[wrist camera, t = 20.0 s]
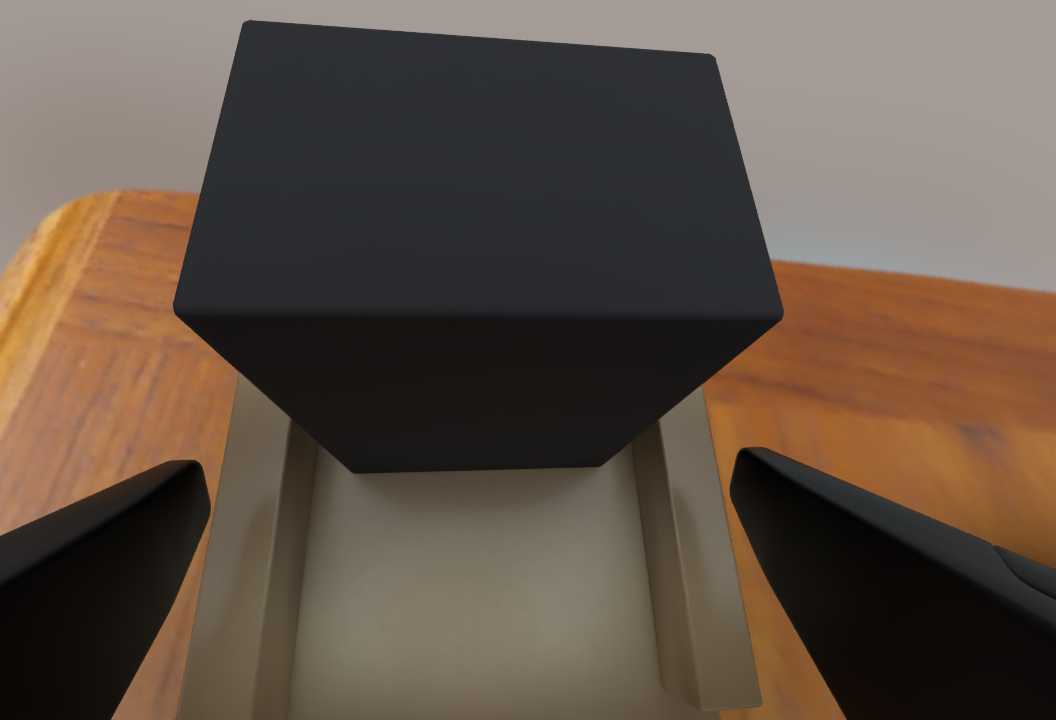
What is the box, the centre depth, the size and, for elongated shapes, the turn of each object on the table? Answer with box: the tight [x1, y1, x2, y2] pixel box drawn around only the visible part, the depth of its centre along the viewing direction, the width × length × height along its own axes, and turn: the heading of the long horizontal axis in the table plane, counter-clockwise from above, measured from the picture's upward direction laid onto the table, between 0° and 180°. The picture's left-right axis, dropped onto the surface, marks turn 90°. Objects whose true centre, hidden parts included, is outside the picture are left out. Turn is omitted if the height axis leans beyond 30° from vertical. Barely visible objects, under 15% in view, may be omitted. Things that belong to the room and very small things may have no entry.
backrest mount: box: [176, 372, 762, 720], centre depth 12 cm, size 11×10×6 cm
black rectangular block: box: [173, 20, 784, 474], centre depth 9 cm, size 4×6×8 cm, turn 93°
